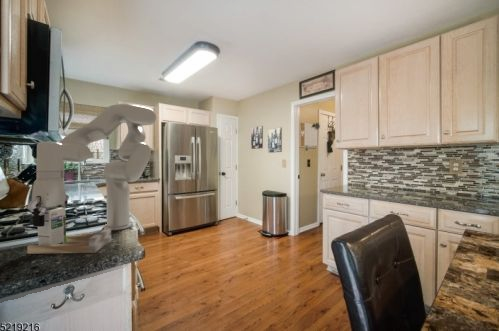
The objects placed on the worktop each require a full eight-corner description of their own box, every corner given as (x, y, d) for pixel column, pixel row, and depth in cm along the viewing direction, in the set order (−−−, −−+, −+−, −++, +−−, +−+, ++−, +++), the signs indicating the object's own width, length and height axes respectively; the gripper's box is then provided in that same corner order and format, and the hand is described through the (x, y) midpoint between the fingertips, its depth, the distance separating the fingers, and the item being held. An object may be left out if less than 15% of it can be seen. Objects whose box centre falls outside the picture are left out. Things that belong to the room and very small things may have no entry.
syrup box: (50, 251, 80) (49, 210, 79) (37, 249, 81) (36, 209, 80) (66, 245, 85) (66, 207, 85) (54, 243, 87) (53, 206, 86)
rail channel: (52, 241, 88) (52, 229, 88) (111, 240, 90) (111, 228, 90) (27, 253, 77) (27, 239, 77) (94, 252, 79) (94, 238, 79)
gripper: (57, 174, 90) (57, 216, 91) (17, 177, 73) (16, 229, 73) (77, 174, 91) (77, 216, 91) (41, 177, 74) (41, 229, 74)
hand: (50, 222), depth 82 cm, fingers open, 9 cm apart
